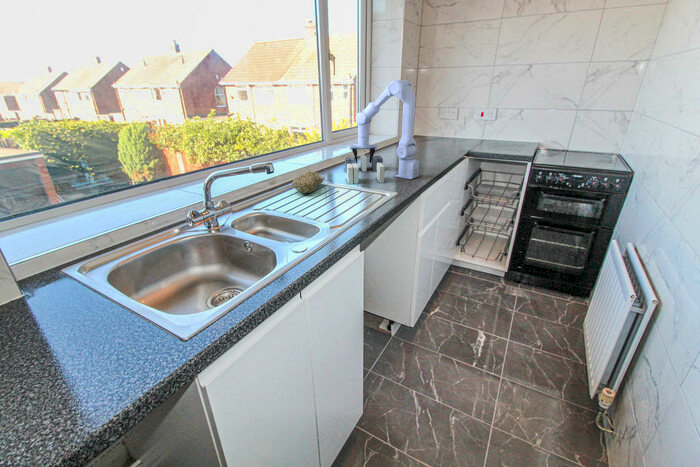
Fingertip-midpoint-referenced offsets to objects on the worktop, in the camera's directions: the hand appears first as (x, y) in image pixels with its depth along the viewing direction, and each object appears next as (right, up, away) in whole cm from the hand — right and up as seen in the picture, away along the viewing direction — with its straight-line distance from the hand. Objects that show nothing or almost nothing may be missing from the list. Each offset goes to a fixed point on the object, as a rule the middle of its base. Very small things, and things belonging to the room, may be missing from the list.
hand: (363, 162), depth 177 cm
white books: (0, -13, -20) cm, 24 cm away
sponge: (-26, -19, -32) cm, 45 cm away
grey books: (0, -3, +1) cm, 4 cm away
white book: (0, -3, +1) cm, 4 cm away
